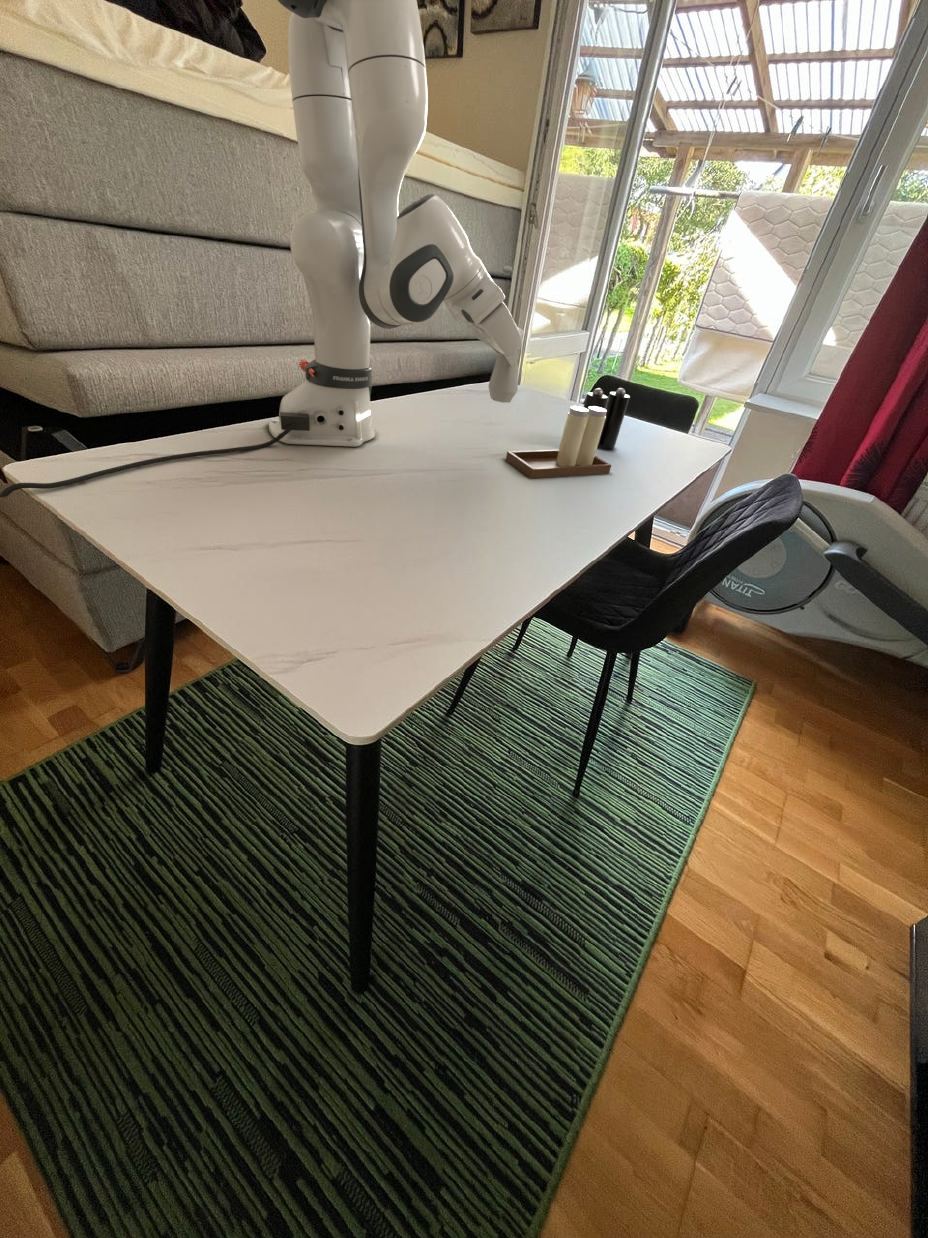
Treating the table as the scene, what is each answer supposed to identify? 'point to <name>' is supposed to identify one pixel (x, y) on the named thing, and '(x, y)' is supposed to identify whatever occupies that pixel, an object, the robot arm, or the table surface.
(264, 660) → the table surface
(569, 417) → the cream shaker
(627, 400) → the pepper mill
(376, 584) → the table surface
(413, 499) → the table surface
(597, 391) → the pepper mill
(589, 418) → the cream shaker
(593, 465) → the walnut tray
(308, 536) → the table surface
